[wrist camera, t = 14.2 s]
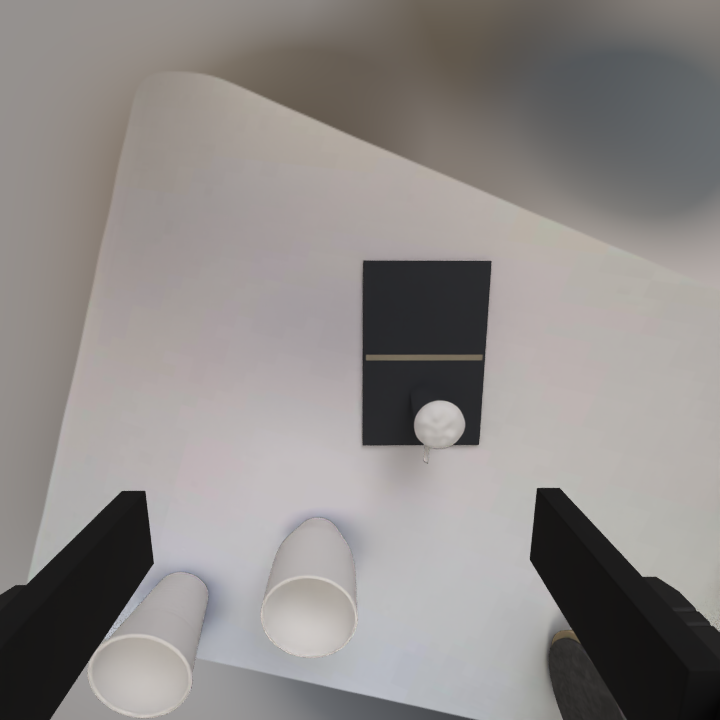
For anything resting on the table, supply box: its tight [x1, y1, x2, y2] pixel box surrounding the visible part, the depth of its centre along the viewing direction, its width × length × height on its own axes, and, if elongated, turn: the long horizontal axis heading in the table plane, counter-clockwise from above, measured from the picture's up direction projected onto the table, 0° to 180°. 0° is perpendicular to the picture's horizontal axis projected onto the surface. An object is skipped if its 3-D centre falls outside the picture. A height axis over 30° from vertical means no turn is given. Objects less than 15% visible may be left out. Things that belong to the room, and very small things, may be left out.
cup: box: [87, 572, 208, 718], centre depth 46 cm, size 10×10×11 cm
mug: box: [261, 518, 358, 658], centre depth 45 cm, size 12×9×12 cm
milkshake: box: [410, 384, 465, 464], centre depth 41 cm, size 5×5×10 cm
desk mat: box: [363, 261, 491, 445], centre depth 45 cm, size 20×13×1 cm, turn 0°
